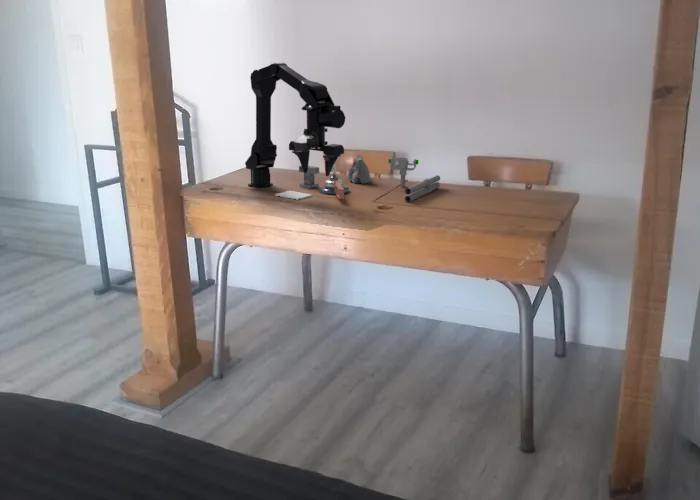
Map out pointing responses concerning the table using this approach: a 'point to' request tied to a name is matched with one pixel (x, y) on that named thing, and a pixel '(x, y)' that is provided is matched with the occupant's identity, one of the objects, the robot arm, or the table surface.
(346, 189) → the chuck base
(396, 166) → the mechanical component
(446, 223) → the table surface
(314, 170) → the grey stepped block
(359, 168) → the mineral rock
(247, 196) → the table surface
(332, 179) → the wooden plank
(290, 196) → the mat
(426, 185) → the metal rod assembly
